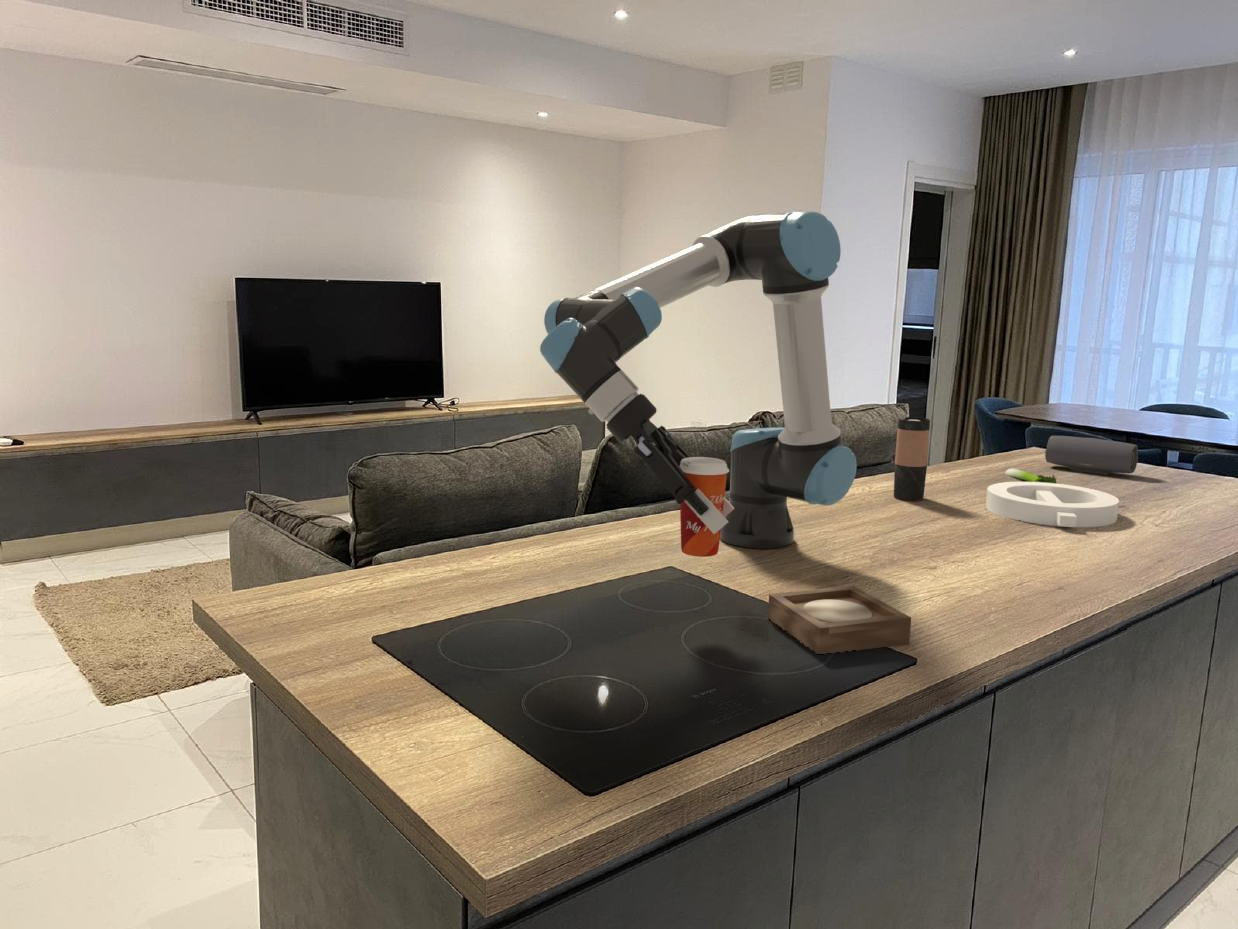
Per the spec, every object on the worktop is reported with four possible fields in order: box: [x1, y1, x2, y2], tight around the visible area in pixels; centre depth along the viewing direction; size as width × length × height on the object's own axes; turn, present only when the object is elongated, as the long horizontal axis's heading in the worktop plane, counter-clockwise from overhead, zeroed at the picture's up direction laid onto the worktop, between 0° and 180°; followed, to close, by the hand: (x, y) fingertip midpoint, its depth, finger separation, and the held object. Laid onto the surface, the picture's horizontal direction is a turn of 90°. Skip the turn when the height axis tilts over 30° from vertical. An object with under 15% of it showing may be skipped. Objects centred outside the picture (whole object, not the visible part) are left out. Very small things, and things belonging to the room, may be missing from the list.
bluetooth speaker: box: [1044, 435, 1139, 476], centre depth 263 cm, size 23×9×10 cm, turn 46°
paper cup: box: [679, 456, 730, 558], centre depth 135 cm, size 8×8×14 cm
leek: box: [1004, 468, 1058, 484], centre depth 243 cm, size 6×7×30 cm
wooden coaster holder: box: [767, 585, 912, 655], centre depth 135 cm, size 15×15×4 cm
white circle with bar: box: [985, 481, 1120, 528], centre depth 212 cm, size 28×28×5 cm
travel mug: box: [893, 416, 931, 502], centre depth 224 cm, size 8×8×20 cm
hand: (724, 520), depth 135 cm, fingers closed on paper cup, 8 cm apart
